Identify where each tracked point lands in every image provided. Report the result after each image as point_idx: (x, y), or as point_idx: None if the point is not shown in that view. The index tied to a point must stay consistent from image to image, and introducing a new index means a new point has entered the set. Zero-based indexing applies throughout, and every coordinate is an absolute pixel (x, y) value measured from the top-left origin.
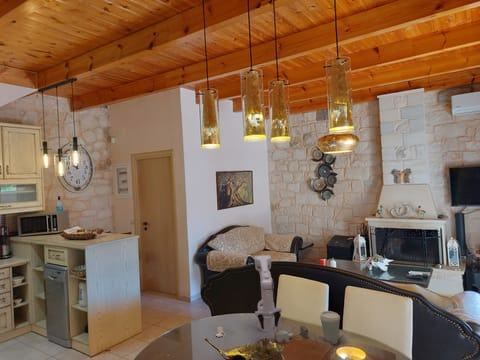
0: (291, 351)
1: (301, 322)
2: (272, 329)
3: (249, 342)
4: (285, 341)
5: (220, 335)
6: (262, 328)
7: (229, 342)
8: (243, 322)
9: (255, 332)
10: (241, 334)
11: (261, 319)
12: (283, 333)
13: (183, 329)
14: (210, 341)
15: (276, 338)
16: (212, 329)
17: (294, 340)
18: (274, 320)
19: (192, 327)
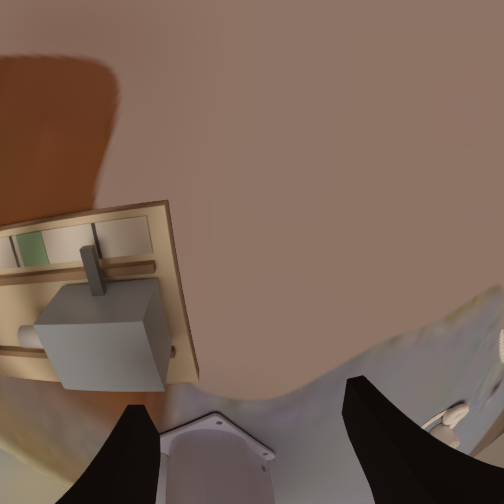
0: (75, 130)
1: (31, 455)
2: (176, 450)
3: (368, 354)
4: (86, 247)
5: (459, 409)
6: (369, 385)
7: (454, 360)
8: (300, 501)
9: (281, 448)
10: None
11: (481, 478)
12: (80, 338)
13: (493, 435)
14: (498, 369)
15: (164, 333)
16: None
17: (21, 275)
18: (155, 496)
19: (470, 450)
